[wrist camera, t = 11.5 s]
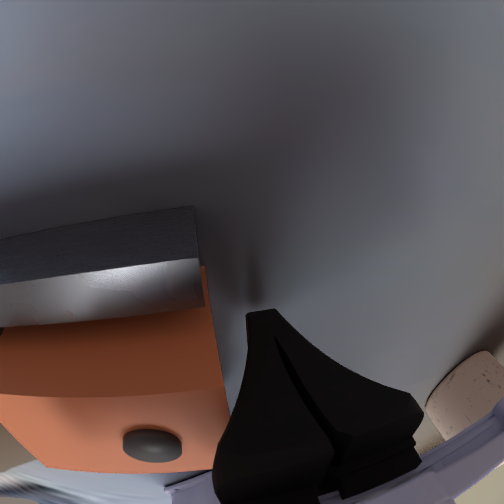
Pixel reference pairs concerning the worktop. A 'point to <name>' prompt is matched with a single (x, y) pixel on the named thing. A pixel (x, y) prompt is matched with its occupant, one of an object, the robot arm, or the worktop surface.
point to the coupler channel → (101, 270)
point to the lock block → (117, 392)
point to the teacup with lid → (466, 394)
